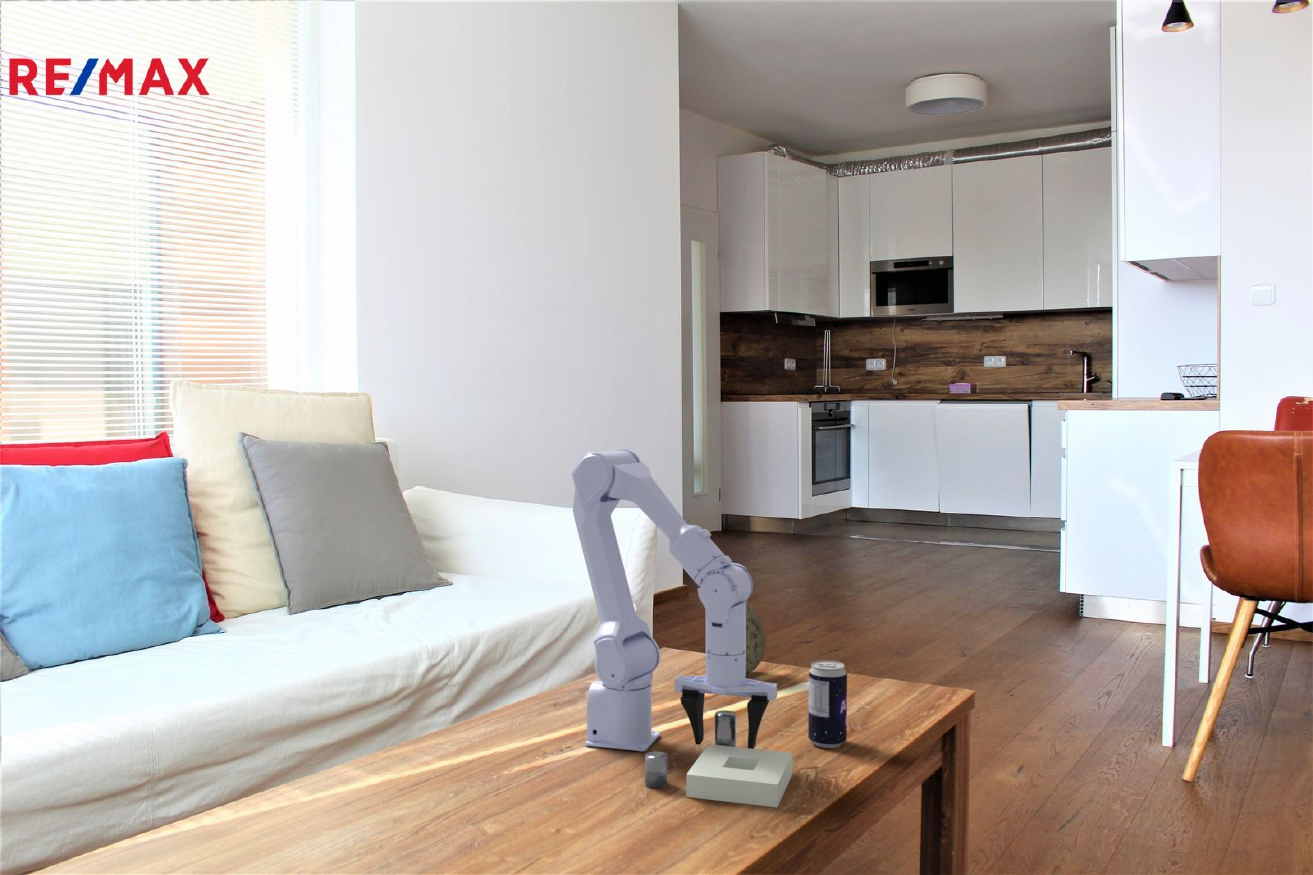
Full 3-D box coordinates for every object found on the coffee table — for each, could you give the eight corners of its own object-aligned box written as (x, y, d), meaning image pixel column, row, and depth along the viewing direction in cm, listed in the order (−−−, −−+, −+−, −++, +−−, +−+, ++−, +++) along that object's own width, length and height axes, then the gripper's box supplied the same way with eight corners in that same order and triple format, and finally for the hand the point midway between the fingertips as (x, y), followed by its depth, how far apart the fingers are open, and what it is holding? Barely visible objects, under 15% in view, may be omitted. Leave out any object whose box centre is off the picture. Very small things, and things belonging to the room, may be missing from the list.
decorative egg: (715, 666, 199) (715, 589, 198) (770, 671, 195) (771, 592, 195) (700, 681, 189) (700, 599, 188) (757, 686, 185) (758, 603, 184)
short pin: (642, 787, 138) (642, 758, 138) (648, 779, 141) (648, 750, 141) (663, 790, 137) (663, 760, 137) (670, 781, 140) (670, 752, 140)
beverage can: (846, 751, 152) (846, 670, 151) (807, 748, 153) (807, 668, 153) (846, 738, 158) (847, 660, 157) (809, 736, 159) (809, 658, 158)
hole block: (686, 796, 135) (686, 774, 135) (708, 765, 146) (708, 744, 146) (777, 807, 131) (777, 784, 131) (792, 774, 143) (792, 752, 143)
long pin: (712, 764, 147) (712, 715, 146) (717, 757, 149) (717, 709, 149) (733, 766, 146) (733, 717, 145) (737, 759, 149) (737, 711, 148)
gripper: (669, 653, 145) (668, 749, 146) (771, 661, 141) (770, 759, 142) (682, 642, 152) (682, 733, 152) (779, 649, 148) (779, 742, 148)
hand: (725, 745), depth 147 cm, fingers open, 7 cm apart
